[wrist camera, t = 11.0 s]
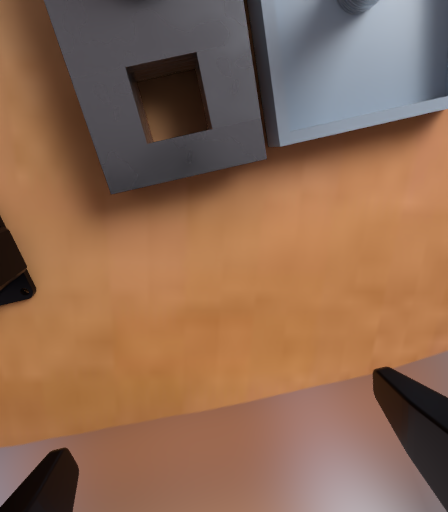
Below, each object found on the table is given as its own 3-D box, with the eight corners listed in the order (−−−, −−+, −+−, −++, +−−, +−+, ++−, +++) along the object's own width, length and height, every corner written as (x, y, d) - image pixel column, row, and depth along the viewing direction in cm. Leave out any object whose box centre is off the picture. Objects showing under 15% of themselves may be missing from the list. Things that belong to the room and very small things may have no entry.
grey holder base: (123, 187, 17) (96, 202, 12) (15, -143, 12) (-104, -341, 7) (254, 157, 18) (280, 160, 13) (200, -178, 13) (206, -395, 8)
